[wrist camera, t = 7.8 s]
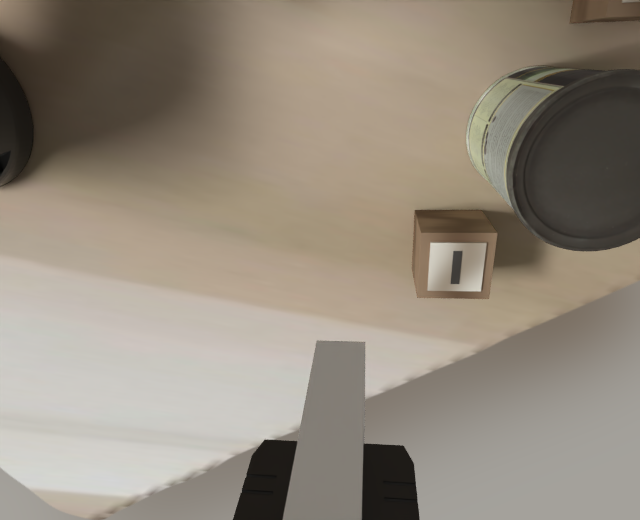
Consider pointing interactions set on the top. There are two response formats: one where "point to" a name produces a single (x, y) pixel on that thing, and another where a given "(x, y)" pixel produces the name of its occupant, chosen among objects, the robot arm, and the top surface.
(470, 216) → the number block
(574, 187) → the coffee can
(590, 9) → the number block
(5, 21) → the top surface
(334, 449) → the robot arm
